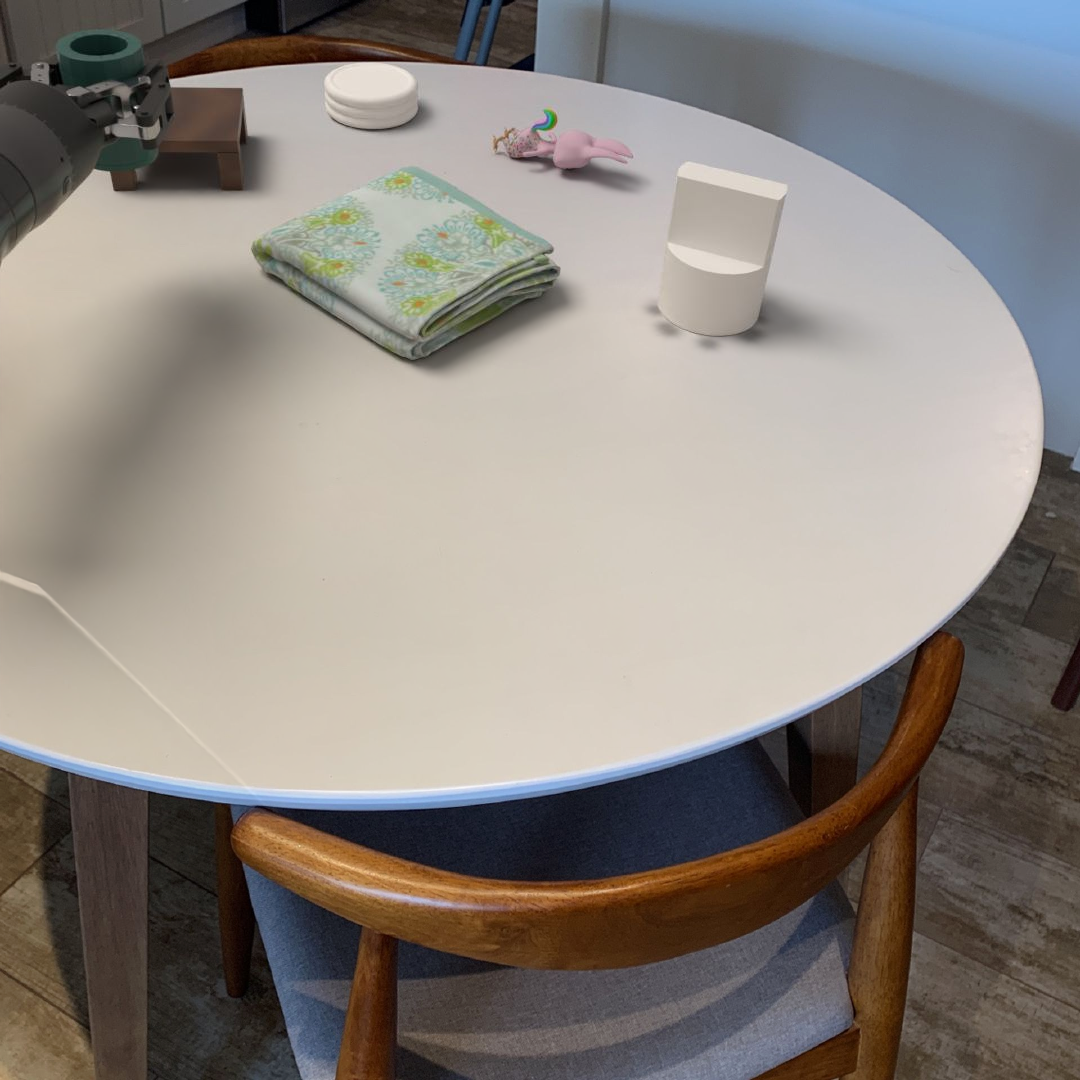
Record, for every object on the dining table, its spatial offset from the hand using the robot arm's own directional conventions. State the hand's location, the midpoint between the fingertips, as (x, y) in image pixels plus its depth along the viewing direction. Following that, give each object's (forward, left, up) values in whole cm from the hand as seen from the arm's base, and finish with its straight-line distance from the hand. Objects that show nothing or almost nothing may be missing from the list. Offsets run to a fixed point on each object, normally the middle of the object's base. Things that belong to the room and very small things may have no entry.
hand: (117, 66), depth 90 cm
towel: (+22, -2, -18) cm, 28 cm away
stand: (+1, +21, -18) cm, 27 cm away
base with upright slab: (+48, -7, -18) cm, 52 cm away
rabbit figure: (+39, +20, -18) cm, 47 cm away
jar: (-1, -2, -6) cm, 6 cm away
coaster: (+20, +33, -18) cm, 42 cm away
